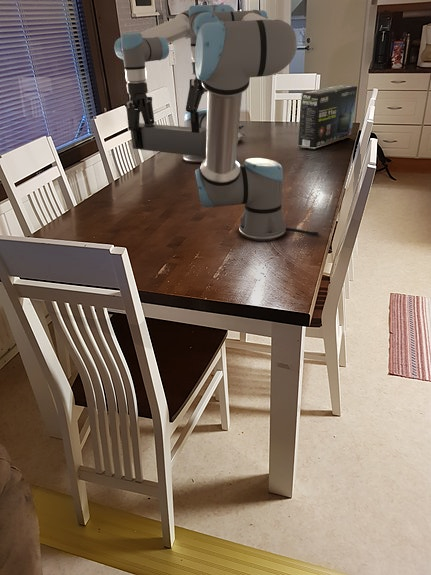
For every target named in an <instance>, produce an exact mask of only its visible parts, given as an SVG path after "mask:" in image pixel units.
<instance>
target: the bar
mask: <svg viewBox="0 0 431 575" xmlns="http://www.w3.org/2000/svg"><path fill="white" fill-rule="evenodd" d="M129 131H130V137H131V146H132V150H141V151H149V152H150V151H151V152H159V153H167V154H175V155H183V156H184V155H193V156H201V157H202V156H204V155H206V140H207V129H205V128H199V131H200V132H199V133H194V132H192V130H191V127H185V126H182V125H181V126H180V125H168V124H157V123H154V124H145V123H144V122H139V131H141V140H142V149H139V148H136V146H135V140H134V135H133V131H131V130H129Z"/></svg>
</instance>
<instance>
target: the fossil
mask: <svg viewBox="0 0 431 575" xmlns="http://www.w3.org/2000/svg"><path fill="white" fill-rule="evenodd" d="M245 134H246V133H245V132H244V131H242V130H241V129H239V132H238V141H239V140H240V141H241V140H242V139H243V138H242V136H245V137H246V135H245ZM240 141H239V142H240Z"/></svg>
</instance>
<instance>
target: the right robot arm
mask: <svg viewBox="0 0 431 575" xmlns="http://www.w3.org/2000/svg"><path fill="white" fill-rule="evenodd" d="M211 5H212V4H200V5H199V4H198V5H197V4H195V5H190V6H189V8H188V10H189V17H188V18H189V26H190V38H189V39H190V40H189V41H190V58H191V60H192V62H191V74H192V75H194V76H195V77H194V78H190V79H189V88H188V94H187V98H186V106H185V112H190V117H191V130H192V132H194V133H199V132H200V131H199V112H197V110H198V109H199V106H200V103H201V101H202V100H201V99H202V97H203V95H204V94H205V93H206V94H207V100H206V103H207V104H206V109H207V140H206V159H205V160H204V161H203V162H202V163H200V164H201V165H200V167H199V168H196V169H195V171H194V172H195V178H196V184H197V189H198V190H197V191H198V195H199V200H200V204H201V205H202V206H203V207H205V208H218V207H226V206H227V207H228V206H229V207H230V206H238V205H239V206H240V205H244V211H243V213H242V216H241V217H240V220H239V226H238V232H239V235H240V236H241V237H242V238H244V239H247V240H250V241H254V242H271V241H277V240H279V239H281V238H283V237H285V235H286V234H287V231H288V232H293V233H298V234H299V233H300V234H305V235H311V236H319V231H311V230H304V229H299V228H292V227H287V223H286V221H285V216H284V214H283V210H282V200H283V181H284V174H283V173H284V172H283V171H284V170H283V166H282V164H280V163H279V162H278V161H276V160H272V159H268V158H263V157H250V158H246V159H245V160H244V162H243V165H241V164H240V163H239V162H238V160H237V152H238V143H239V142H238V132H239V130H240V128H239V126H240V120H241V111H242V110H241V108H242V98H243V93H244V92H246V91H247V90H248V88H249V86H250V81H251V78H259V77H260V78H262V77H269V76H272V75H275V74H277V73H279V72H281V71H282V70H284V69H285V68H287V67H288V65H290V64H291V63H292V61H293V60H294V58H295V56H296V53H297V50H298V45H299V44H298V43H299V42H298V36H297V33H296V31H295V29H294V28H293V26H292V25H290V24H289V23H288V22H286V21H284V20H281V19H269V16H268V12H266V10H264V9H263V10H261V9H259V10H258V9H252V10H237V11H236V10H234V11H233V12H232V11H227V12H213V10H212V6H211Z"/></svg>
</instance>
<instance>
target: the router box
mask: <svg viewBox="0 0 431 575" xmlns="http://www.w3.org/2000/svg"><path fill="white" fill-rule="evenodd" d="M357 93H358V86H356V85H350V84H339V85H338V84H337V85H334V86H328V87H324V88H318V89H314V90H309V91H304V92H301V93H300V109H299V110H300V111H299V124H298V137H297V146H298V145H302V146H307V147H317V146H320V145H323V144H325V143H328V142H331V141H333V140H336V139H338V138H341V137H344V136H347V135H351V136H352V133H353V132H352V131H353V125H354V115H355V109H356V99H357ZM311 151H313V150H312V149H311Z"/></svg>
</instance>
